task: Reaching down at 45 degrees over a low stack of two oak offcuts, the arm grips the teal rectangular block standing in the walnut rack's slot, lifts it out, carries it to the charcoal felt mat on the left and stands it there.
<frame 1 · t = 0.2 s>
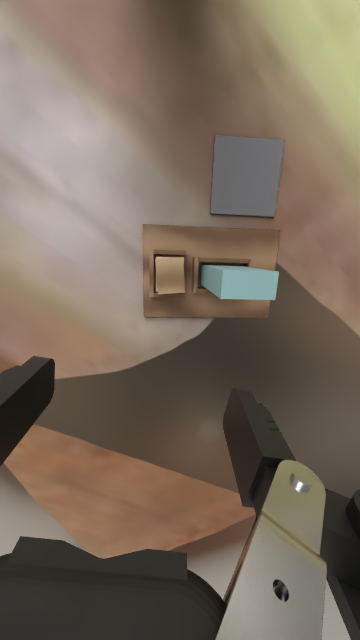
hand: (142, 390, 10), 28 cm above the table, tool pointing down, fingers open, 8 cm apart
offcut top: (169, 274, 34), point 3 cm above the table, touching offcut low
mat: (245, 178, 34), on the table
teal rectangular block: (219, 274, 37), point 1 cm above the table, touching rack
rack: (209, 274, 38), on the table
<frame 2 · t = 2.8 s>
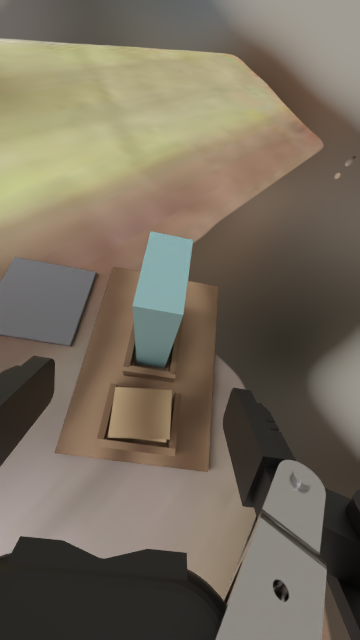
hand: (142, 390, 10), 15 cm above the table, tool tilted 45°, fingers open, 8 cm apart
offcut top: (141, 414, 21), point 3 cm above the table, touching offcut low
mat: (41, 299, 27), on the table
teal rectangular block: (155, 340, 26), point 1 cm above the table, touching rack
rack: (152, 355, 26), on the table
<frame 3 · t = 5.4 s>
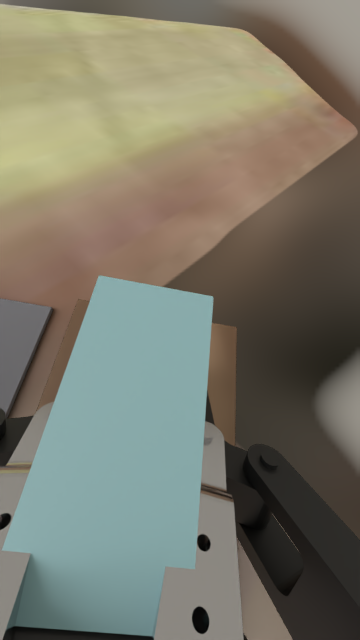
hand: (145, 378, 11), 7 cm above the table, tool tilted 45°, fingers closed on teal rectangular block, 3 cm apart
teal rectangular block: (139, 427, 16), point 1 cm above the table, touching gripper
rack: (134, 449, 16), on the table
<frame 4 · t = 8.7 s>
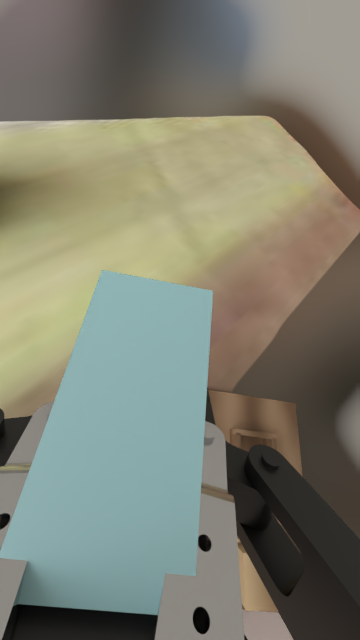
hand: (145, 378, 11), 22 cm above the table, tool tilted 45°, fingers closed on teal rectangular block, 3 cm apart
offcut top: (258, 567, 23), point 3 cm above the table, touching offcut low
teal rectangular block: (138, 428, 16), point 15 cm above the table, touching gripper
rack: (246, 483, 29), on the table
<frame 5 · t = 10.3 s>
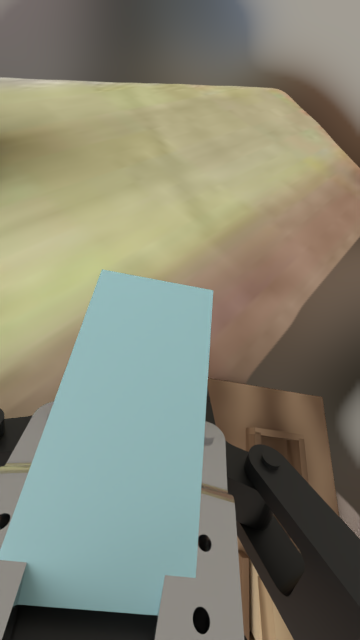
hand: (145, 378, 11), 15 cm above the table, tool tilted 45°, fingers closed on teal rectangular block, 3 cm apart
offcut top: (289, 609, 18), point 3 cm above the table, touching offcut low
offcut low: (274, 591, 20), point 1 cm above the table, touching offcut top, rack
teal rectangular block: (138, 428, 16), point 9 cm above the table, touching gripper
rack: (267, 495, 23), on the table
when the fingers open (10 cm above the table, at t = 11.9 s): teal rectangular block drops 3 cm, resting on mat.
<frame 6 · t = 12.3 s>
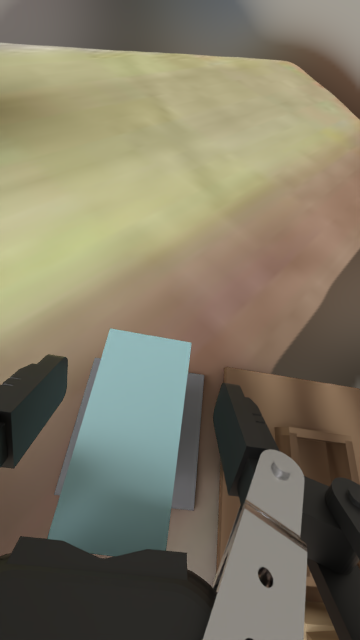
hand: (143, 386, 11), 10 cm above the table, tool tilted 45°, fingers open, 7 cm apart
mat: (139, 426, 19), on the table
teal rectangular block: (141, 429, 19), resting on mat
rack: (305, 513, 18), on the table
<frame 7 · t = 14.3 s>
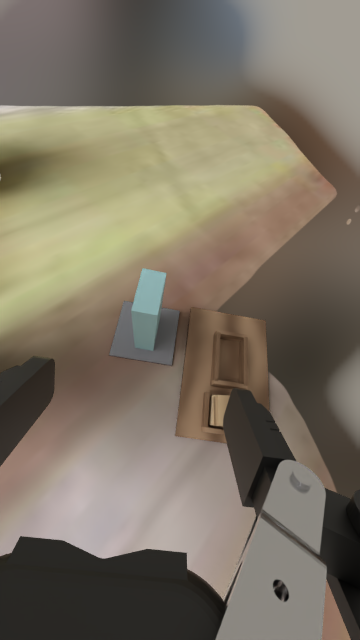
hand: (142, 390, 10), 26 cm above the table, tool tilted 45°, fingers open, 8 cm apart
offcut top: (230, 411, 33), point 3 cm above the table, touching offcut low
offcut low: (225, 413, 35), point 1 cm above the table, touching offcut top, rack
mat: (146, 332, 39), on the table
teal rectangular block: (147, 332, 39), resting on mat
rack: (225, 371, 38), on the table
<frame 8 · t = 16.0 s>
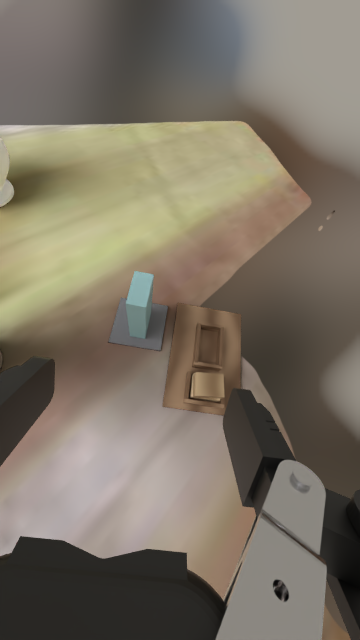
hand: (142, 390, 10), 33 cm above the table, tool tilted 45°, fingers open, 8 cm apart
offcut top: (206, 386, 41), point 3 cm above the table, touching offcut low
offcut low: (203, 388, 43), point 1 cm above the table, touching offcut top, rack
mat: (139, 323, 47), on the table
teal rectangular block: (140, 323, 47), resting on mat
rack: (205, 356, 46), on the table
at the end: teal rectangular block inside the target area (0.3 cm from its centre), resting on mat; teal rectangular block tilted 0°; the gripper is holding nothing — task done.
